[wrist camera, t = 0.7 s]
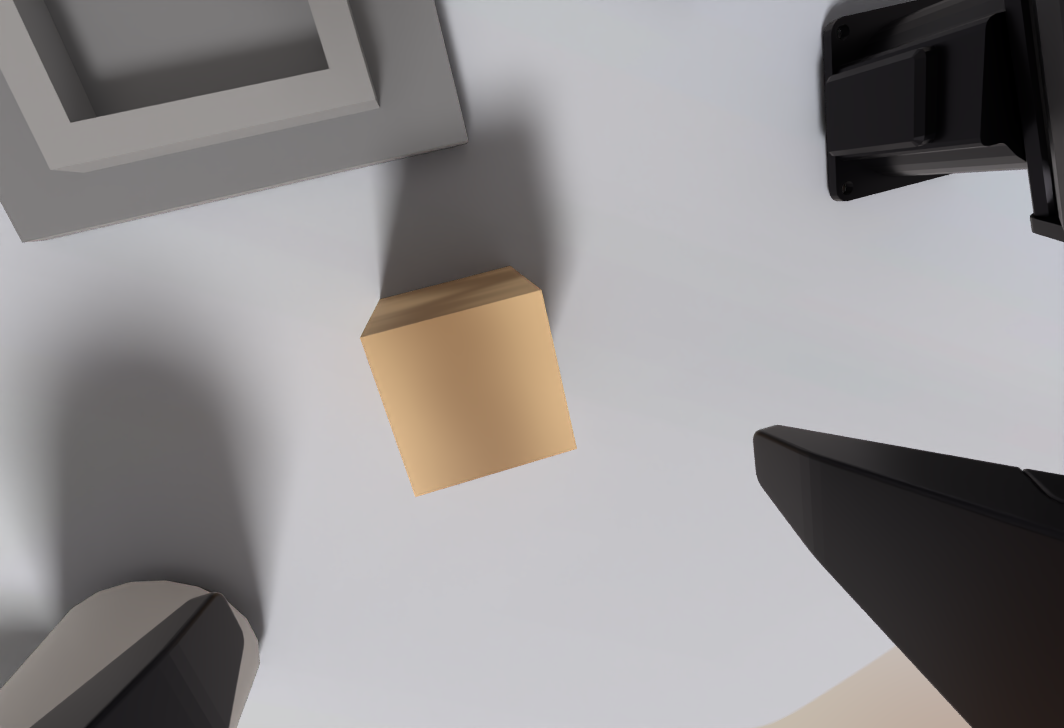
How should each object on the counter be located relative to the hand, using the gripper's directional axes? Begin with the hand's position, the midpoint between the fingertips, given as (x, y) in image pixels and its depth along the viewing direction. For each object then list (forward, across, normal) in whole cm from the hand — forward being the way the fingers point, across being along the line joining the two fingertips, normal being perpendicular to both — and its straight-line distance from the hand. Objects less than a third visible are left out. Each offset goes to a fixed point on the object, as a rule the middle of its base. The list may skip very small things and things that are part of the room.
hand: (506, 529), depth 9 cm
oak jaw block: (+13, 0, 0) cm, 13 cm away
